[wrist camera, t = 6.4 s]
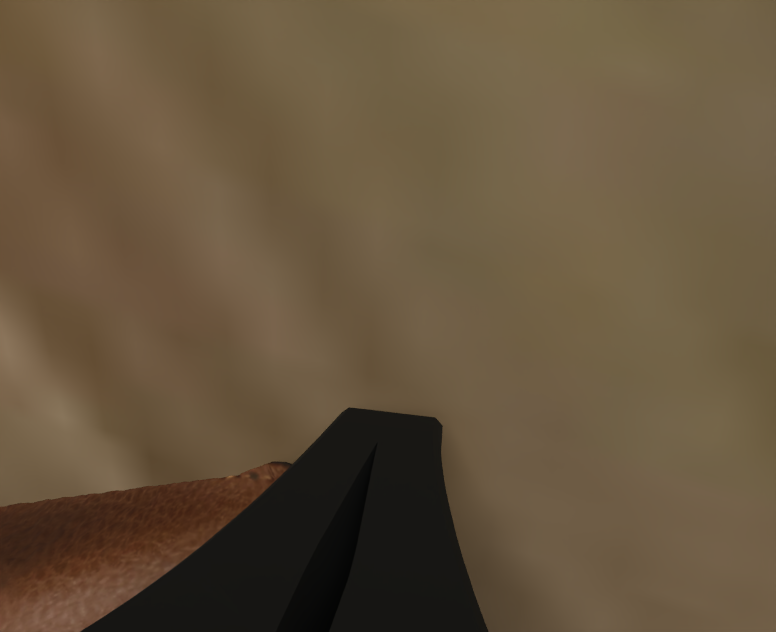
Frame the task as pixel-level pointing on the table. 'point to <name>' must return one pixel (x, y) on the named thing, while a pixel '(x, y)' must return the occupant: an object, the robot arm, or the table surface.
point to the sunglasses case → (108, 546)
